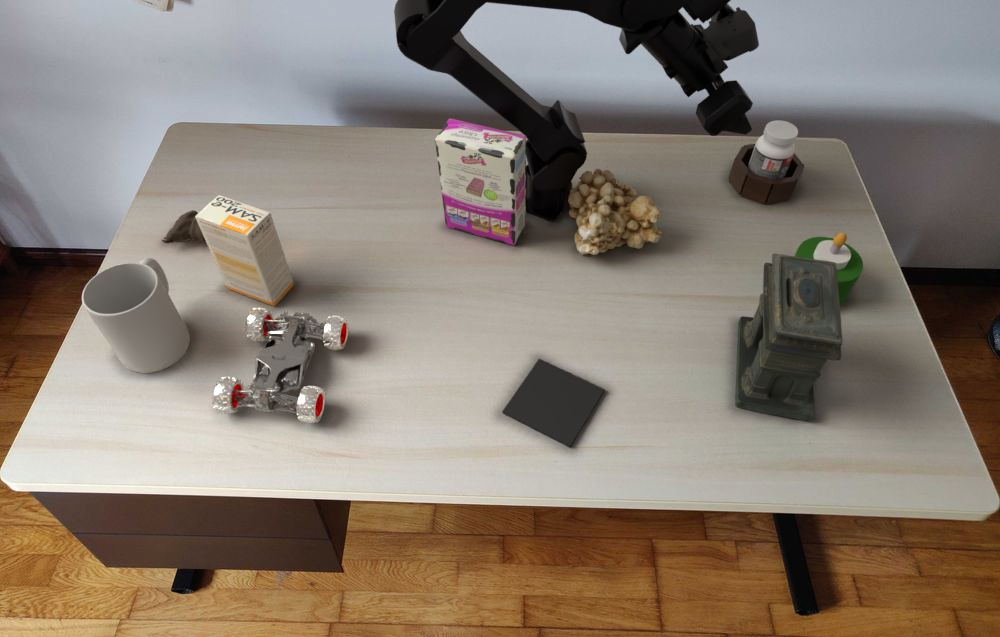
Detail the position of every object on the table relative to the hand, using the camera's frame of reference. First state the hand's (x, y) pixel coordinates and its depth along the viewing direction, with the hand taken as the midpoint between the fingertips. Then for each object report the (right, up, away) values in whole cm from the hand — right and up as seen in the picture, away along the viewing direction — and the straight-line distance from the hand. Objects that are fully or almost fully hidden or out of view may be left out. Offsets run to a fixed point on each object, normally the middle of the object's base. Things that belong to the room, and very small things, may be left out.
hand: (737, 112), depth 98 cm
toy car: (-59, -36, -12) cm, 70 cm away
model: (0, -36, -11) cm, 37 cm away
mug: (-77, -31, -8) cm, 83 cm away
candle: (+10, -25, -2) cm, 27 cm away
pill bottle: (+8, -8, +12) cm, 16 cm away
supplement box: (-66, -25, -3) cm, 70 cm away
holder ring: (+8, -8, +12) cm, 16 cm away
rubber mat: (-27, -39, -15) cm, 50 cm away
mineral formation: (-18, -16, +5) cm, 24 cm away
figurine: (-76, -18, +3) cm, 78 cm away
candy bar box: (-36, -15, +5) cm, 39 cm away
